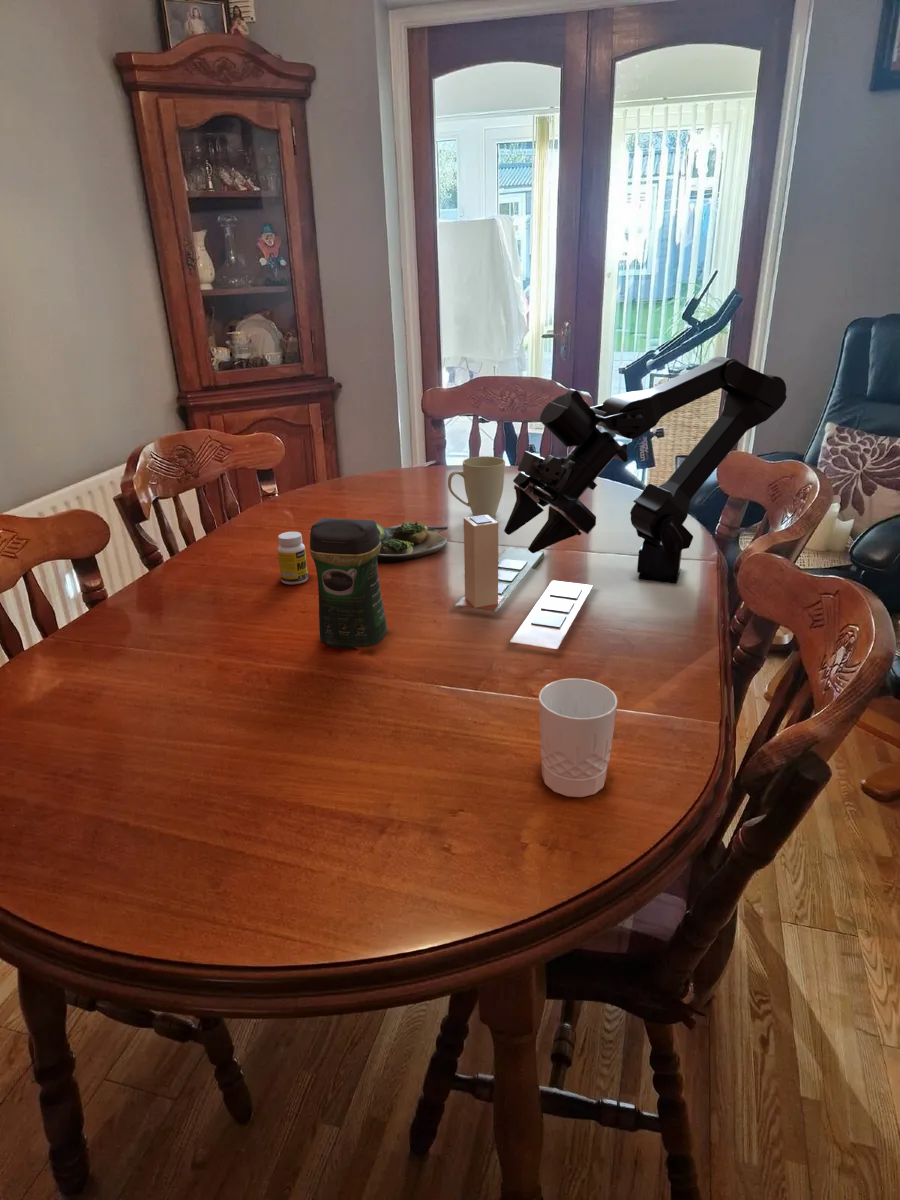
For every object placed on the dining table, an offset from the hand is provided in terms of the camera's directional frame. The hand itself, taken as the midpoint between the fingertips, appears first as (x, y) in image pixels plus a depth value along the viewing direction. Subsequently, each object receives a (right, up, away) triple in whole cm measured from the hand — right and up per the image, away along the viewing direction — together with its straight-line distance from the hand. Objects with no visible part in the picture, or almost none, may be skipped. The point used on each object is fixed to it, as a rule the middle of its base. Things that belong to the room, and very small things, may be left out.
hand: (517, 542), depth 119 cm
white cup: (+3, -28, -38) cm, 47 cm away
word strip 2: (+5, -12, -2) cm, 13 cm away
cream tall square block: (-6, -9, +2) cm, 11 cm away
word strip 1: (-2, -6, +12) cm, 13 cm away
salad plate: (-21, +1, +29) cm, 36 cm away
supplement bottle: (-38, -6, +15) cm, 41 cm away
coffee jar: (-25, -15, -7) cm, 30 cm away
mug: (-4, +9, +45) cm, 46 cm away
